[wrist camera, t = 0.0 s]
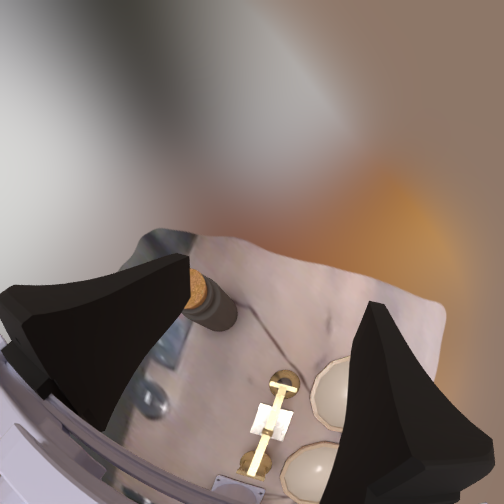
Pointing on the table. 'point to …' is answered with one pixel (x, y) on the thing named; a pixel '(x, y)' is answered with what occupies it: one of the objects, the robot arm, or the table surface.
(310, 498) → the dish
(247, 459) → the balance scale
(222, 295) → the bottle
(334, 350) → the table surface
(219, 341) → the table surface
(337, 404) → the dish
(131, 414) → the table surface
